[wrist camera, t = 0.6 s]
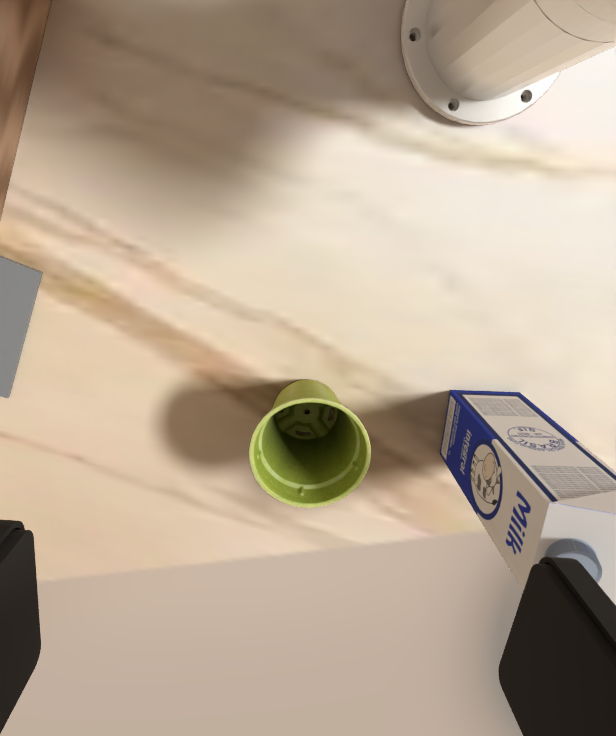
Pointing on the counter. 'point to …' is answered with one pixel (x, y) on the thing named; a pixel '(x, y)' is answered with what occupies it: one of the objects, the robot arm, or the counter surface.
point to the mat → (14, 316)
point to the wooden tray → (17, 73)
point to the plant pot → (309, 447)
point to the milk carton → (531, 484)
